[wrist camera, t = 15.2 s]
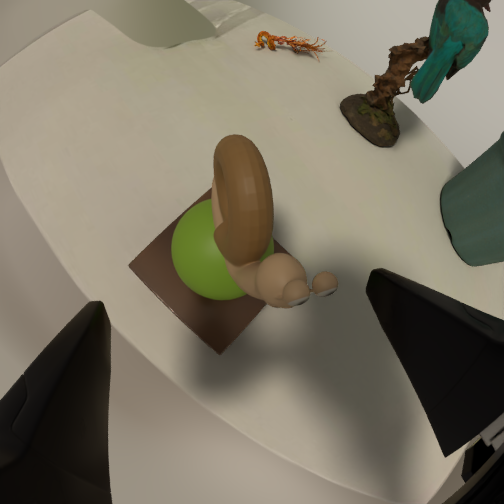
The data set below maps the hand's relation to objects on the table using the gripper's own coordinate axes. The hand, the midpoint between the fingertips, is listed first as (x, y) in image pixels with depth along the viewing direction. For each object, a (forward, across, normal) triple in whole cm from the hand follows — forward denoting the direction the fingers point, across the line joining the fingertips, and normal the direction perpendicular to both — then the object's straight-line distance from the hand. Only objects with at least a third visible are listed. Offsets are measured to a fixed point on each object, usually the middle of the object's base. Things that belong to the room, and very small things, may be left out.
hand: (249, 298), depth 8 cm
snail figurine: (+8, 0, +4) cm, 9 cm away
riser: (+10, 0, +6) cm, 12 cm away
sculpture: (+22, -21, -6) cm, 31 cm away
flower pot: (+12, -33, +4) cm, 36 cm away
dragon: (+31, -13, -15) cm, 37 cm away
